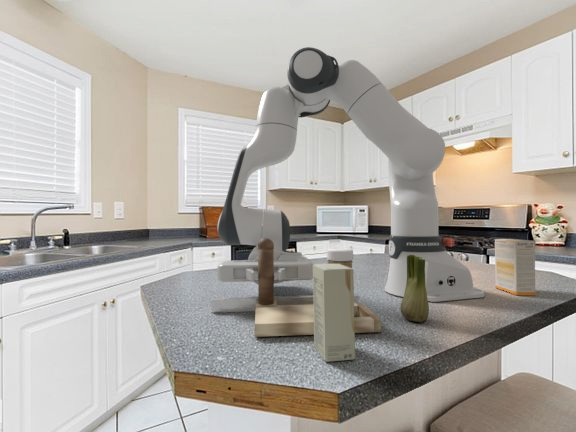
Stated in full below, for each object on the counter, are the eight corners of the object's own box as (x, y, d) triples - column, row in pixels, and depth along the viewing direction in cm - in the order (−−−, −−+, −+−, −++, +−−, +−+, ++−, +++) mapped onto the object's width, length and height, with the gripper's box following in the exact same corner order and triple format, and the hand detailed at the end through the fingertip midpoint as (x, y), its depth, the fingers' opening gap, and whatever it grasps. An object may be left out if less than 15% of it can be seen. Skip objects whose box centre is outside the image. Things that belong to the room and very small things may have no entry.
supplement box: (536, 295, 75) (536, 240, 75) (516, 295, 75) (515, 240, 75) (512, 288, 83) (512, 238, 83) (494, 288, 84) (494, 238, 84)
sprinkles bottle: (329, 329, 54) (329, 250, 54) (325, 320, 58) (324, 247, 58) (356, 328, 54) (356, 250, 54) (350, 320, 59) (349, 247, 59)
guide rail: (355, 305, 68) (355, 294, 68) (358, 307, 66) (358, 295, 66) (213, 310, 65) (213, 298, 65) (212, 312, 64) (212, 300, 64)
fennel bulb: (429, 326, 55) (429, 257, 55) (399, 323, 57) (398, 256, 57) (428, 317, 60) (428, 253, 60) (401, 314, 62) (400, 252, 62)
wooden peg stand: (355, 307, 66) (355, 236, 66) (381, 331, 52) (380, 241, 52) (256, 310, 64) (255, 237, 64) (254, 336, 50) (254, 243, 50)
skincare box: (356, 360, 42) (355, 268, 42) (324, 363, 41) (324, 270, 41) (340, 342, 48) (339, 262, 48) (312, 344, 48) (312, 262, 48)
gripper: (220, 253, 74) (211, 261, 60) (307, 251, 76) (317, 259, 62) (221, 280, 74) (211, 295, 60) (307, 278, 76) (317, 292, 62)
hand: (266, 277), depth 61 cm, fingers closed on wooden peg stand, 3 cm apart
